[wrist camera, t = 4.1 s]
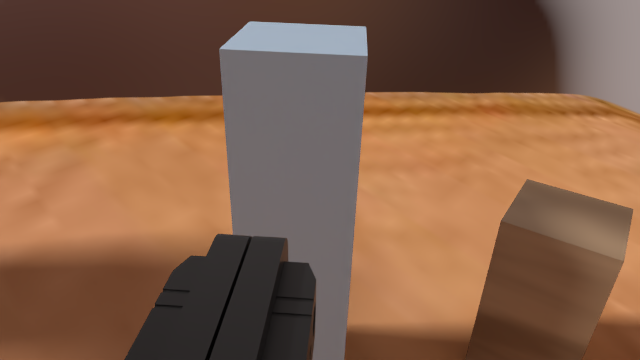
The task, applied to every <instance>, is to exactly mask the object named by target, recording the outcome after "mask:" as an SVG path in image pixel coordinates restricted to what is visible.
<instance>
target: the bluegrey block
mask: <svg viewBox="0 0 640 360" xmlns="http://www.w3.org/2000/svg"><path fill="white" fill-rule="evenodd" d="M219 51H220V65H221V78H222V92H223V106H224V119H225V133H226V146H227V160H228V173H229V187H230V200H231V214H232V227H233V235H244V236H252V237H253V236H263V237H280V238H287V240H288V262H302V263H309V265H310V267H311V269H312V271H313V274H314V276H315V278H316V322H315V340H314V349H313V358H312V360H344V356H345V343H346V330H347V317H348V304H349V291H350V278H351V265H352V252H353V239H354V226H355V213H356V200H357V187H358V174H359V161H360V148H361V135H362V122H363V109H364V96H365V83H366V70H367V57H368V55H367V35H366V27H361V26H338V25H314V24H294V23H271V22H249V23H248V24H246V25H245V26H244V27H243V28H242V29H241V30H240V31H239V32H238V33H237V34H236V35H234V36H233V37H232V38H231V39H230V40H229V41H228V42H227V43H226V44H224V45H223V46H222V47H221V48H220V49H219Z"/></svg>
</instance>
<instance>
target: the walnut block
mask: <svg viewBox="0 0 640 360" xmlns="http://www.w3.org/2000/svg"><path fill="white" fill-rule="evenodd" d="M632 214H633V209H631V208H628V207H624V206H620V205H617V204H613V203H610V202H606V201H603V200H599V199H596V198H592V197H588V196H585V195H581V194H578V193H574V192H571V191H567V190H564V189H560V188H557V187H553V186H549V185H546V184H542V183H539V182H535V181H532V180H528V179H527V180H526V182H525V184H524V185H523V187H522V188H521V190H520V191H519V193H518V195H517V196H516V198H515V199H514V201H513V203H512V204H511V206H510V207H509V209H508V211H507V212H506V214H505V215H504V217H503V218H502V220H501V223H500V227H499V231H498V235H497V238H496V242H495V246H494V250H493V254H492V258H491V262H490V266H489V270H488V273H487V277H486V281H485V285H484V289H483V293H482V297H481V301H480V305H479V308H478V312H477V316H476V320H475V324H474V328H473V332H472V336H471V340H470V344H469V347H468V351H467V355H466V359H465V360H582V358H583V356H584V353H585V351H586V349H587V346H588V344H589V342H590V339H591V337H592V335H593V332H594V330H595V328H596V325H597V323H598V321H599V318H600V316H601V314H602V311H603V309H604V307H605V304H606V302H607V300H608V297H609V295H610V293H611V290H612V288H613V286H614V283H615V281H616V279H617V276H618V274H619V272H620V270H621V267H622V265H623V263H624V258H625V253H626V247H627V242H628V236H629V231H630V225H631V219H632Z"/></svg>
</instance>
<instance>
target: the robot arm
mask: <svg viewBox="0 0 640 360" xmlns="http://www.w3.org/2000/svg"><path fill="white" fill-rule="evenodd" d="M315 322H316V278H315V276H314V274H313V271H312V269H311V267H310V265H309V263H302V262H288V240H287V238H280V237H263V236H253V237H252V236H244V235H228V234H217V235H216V237H215V239H214V241H213V243H212V245H211V247H210V249H209V252H208V254H207V256H206V257H205V256H190V257H189V258H188V259H186V260H185V261H184V262H183V263H182V264H180V265H179V266H178V267H177V268H176V269H174V270H173V272H172V274H171V275H170V277H169V279H168V281H167V283H166V284H165V286H164V288H163V293H162V292H161V294H160V295H159V297H158V299H157V301H156V303H155V307H154V308H152V310H151V312H150V314H149V316H148V317H147V319H146V321H145V323H144V325H143V327H142V328H141V330H140V332H139V334H138V336H137V338H136V339H135V341H134V343H133V345H132V347H131V349H130V350H129V352H128V354H127V356H126V358H125V359H124V360H312V358H313V349H314V340H315Z"/></svg>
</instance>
